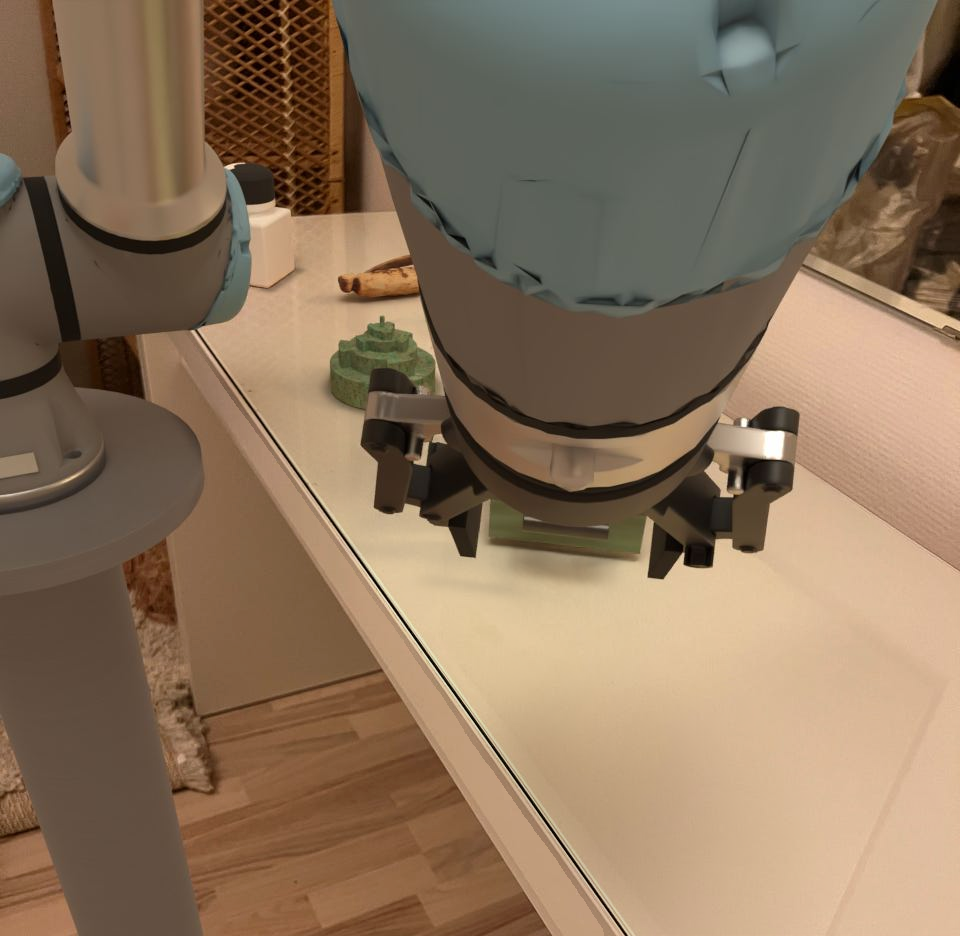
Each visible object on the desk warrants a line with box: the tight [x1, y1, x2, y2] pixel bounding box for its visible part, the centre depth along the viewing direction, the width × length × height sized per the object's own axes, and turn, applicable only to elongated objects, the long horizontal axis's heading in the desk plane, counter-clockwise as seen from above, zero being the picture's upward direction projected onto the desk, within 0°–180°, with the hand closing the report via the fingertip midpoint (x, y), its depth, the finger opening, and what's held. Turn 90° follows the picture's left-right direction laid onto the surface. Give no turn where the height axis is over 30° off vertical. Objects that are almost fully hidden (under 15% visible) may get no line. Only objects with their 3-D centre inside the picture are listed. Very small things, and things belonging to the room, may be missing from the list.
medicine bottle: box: [223, 162, 296, 289], centre depth 114 cm, size 7×7×12 cm
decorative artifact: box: [329, 315, 436, 410], centre depth 93 cm, size 10×7×10 cm
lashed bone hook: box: [337, 254, 420, 298], centre depth 115 cm, size 9×5×18 cm
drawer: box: [487, 499, 648, 554], centre depth 75 cm, size 18×11×8 cm, turn 172°
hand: (564, 540), depth 47 cm, fingers open, 8 cm apart
